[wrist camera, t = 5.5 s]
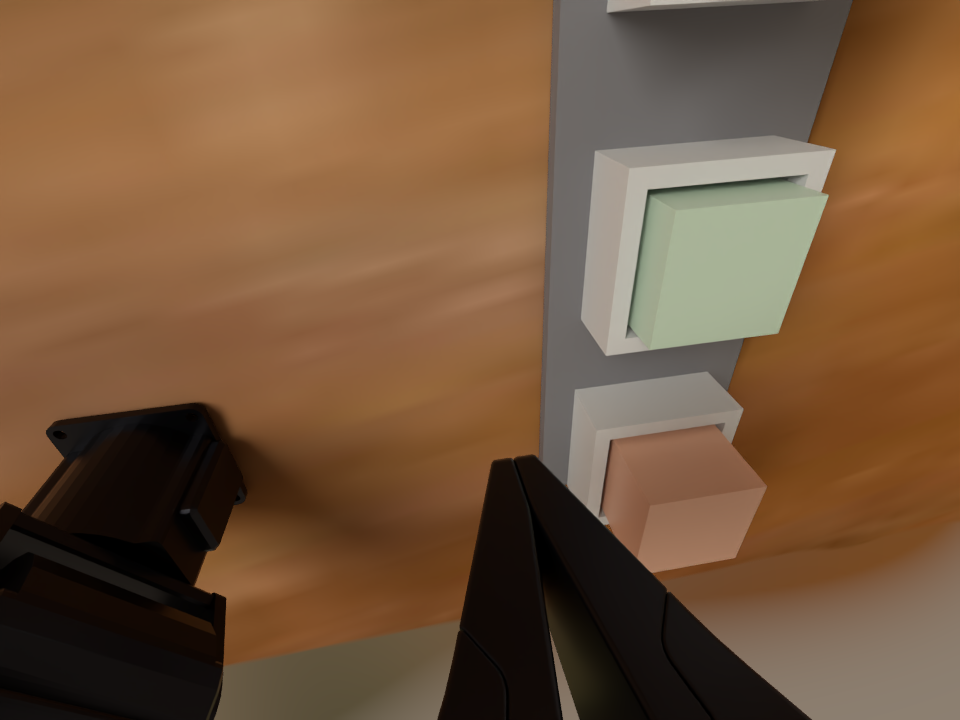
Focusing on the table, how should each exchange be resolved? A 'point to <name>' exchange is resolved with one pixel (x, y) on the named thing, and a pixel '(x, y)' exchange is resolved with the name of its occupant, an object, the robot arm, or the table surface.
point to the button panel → (652, 165)
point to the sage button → (720, 260)
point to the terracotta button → (679, 497)
